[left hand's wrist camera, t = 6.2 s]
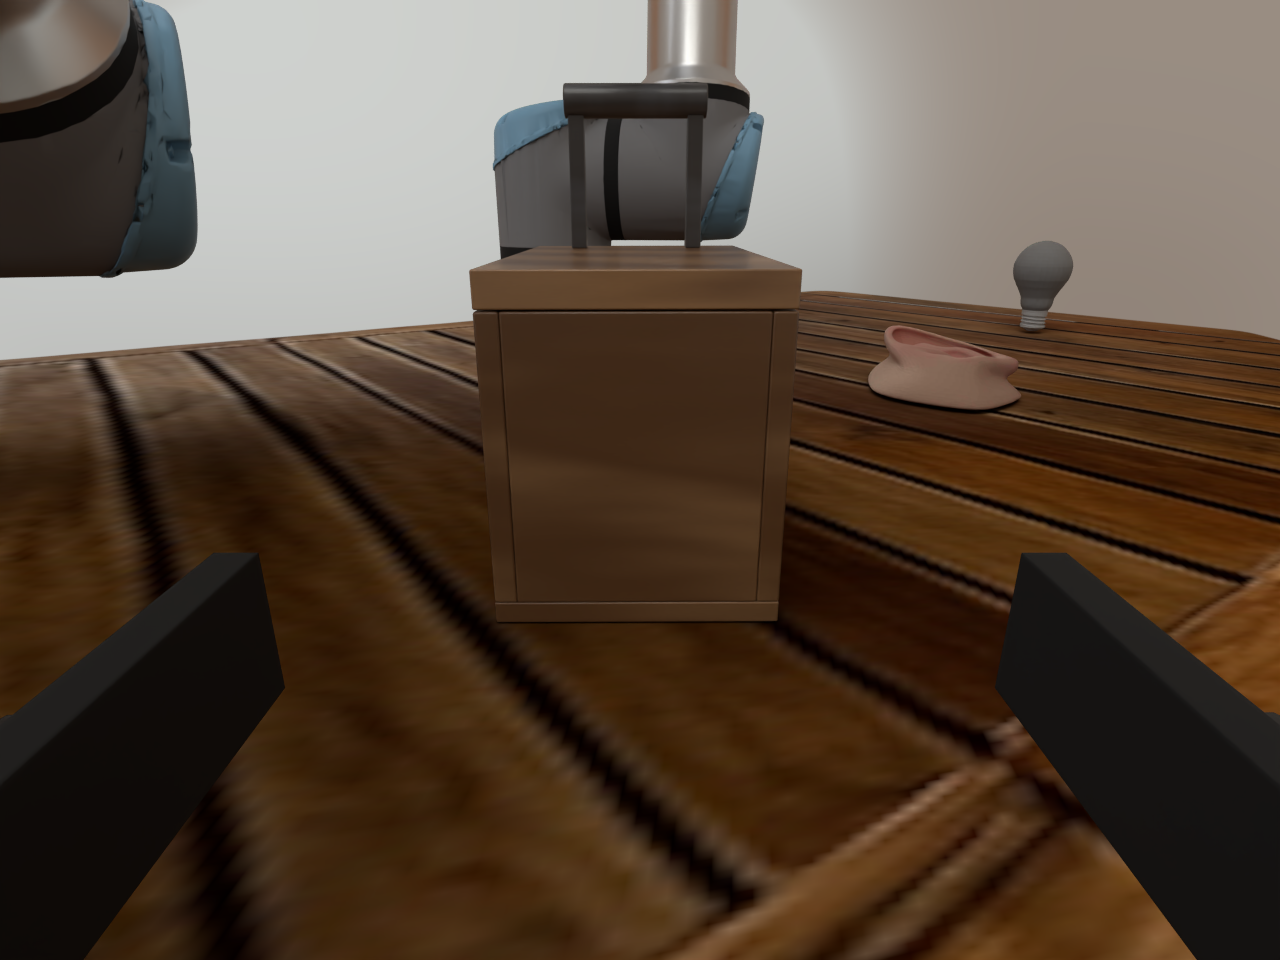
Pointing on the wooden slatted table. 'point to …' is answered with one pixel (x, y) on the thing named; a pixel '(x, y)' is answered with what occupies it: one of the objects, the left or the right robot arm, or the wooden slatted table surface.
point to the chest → (636, 461)
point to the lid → (635, 270)
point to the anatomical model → (942, 372)
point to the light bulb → (1040, 280)
